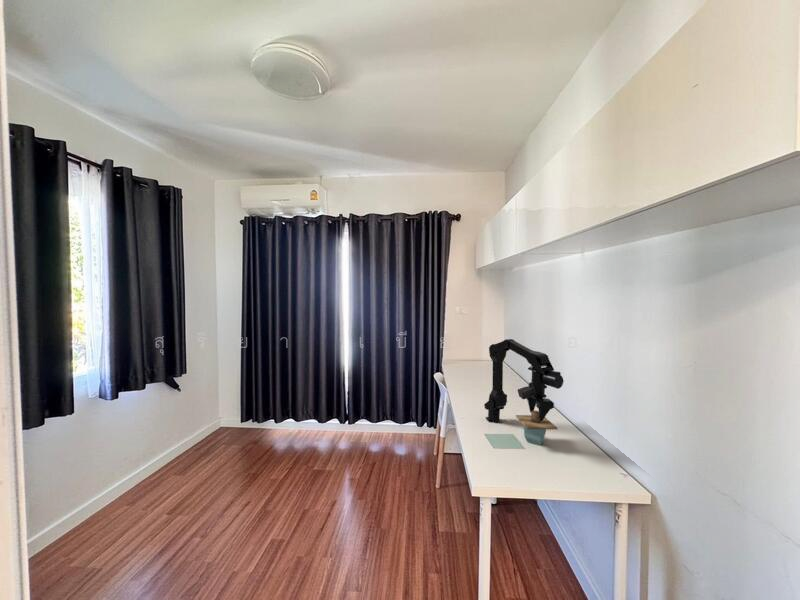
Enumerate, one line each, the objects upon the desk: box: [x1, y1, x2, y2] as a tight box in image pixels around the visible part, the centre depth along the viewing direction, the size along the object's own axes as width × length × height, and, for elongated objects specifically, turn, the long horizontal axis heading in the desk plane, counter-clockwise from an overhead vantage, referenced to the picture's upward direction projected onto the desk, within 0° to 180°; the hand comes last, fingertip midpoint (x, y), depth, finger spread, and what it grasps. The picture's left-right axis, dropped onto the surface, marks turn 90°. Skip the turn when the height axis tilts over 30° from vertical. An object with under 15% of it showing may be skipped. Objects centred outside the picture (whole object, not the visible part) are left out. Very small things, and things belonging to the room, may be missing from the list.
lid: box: [515, 410, 558, 430], centre depth 152 cm, size 13×13×5 cm
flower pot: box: [523, 425, 547, 446], centre depth 152 cm, size 9×9×9 cm
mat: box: [483, 433, 526, 450], centre depth 152 cm, size 14×14×1 cm
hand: (536, 416), depth 152 cm, fingers open, 9 cm apart
